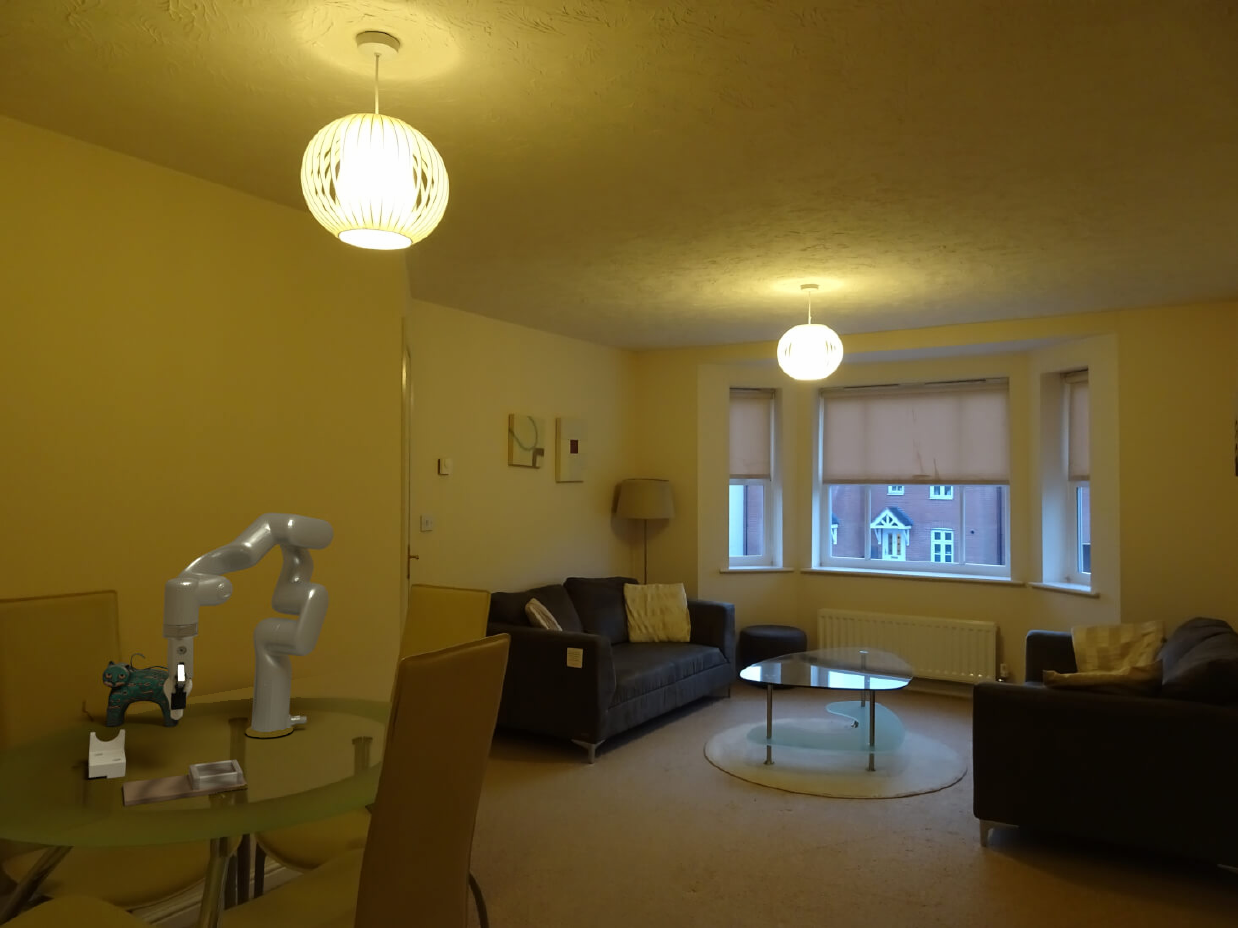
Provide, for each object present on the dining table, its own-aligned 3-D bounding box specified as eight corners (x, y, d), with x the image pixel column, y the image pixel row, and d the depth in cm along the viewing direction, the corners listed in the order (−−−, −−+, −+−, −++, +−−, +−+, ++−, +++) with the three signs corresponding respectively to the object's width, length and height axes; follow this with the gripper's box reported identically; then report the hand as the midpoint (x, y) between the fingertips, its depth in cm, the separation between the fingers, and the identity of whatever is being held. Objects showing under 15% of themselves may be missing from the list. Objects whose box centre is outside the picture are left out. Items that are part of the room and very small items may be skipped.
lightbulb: (178, 724, 196) (180, 677, 196) (155, 722, 197) (158, 675, 197) (196, 717, 202) (198, 671, 202) (174, 715, 203) (176, 669, 203)
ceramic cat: (97, 728, 227) (102, 654, 227) (108, 721, 233) (113, 649, 234) (175, 728, 230) (180, 656, 230) (183, 722, 236) (188, 651, 237)
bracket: (88, 764, 200) (90, 732, 200) (122, 760, 204) (124, 729, 204) (88, 781, 189) (91, 748, 189) (124, 777, 193) (127, 744, 193)
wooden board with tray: (239, 772, 199) (240, 757, 199) (247, 789, 189) (248, 773, 189) (122, 787, 186) (124, 771, 186) (124, 805, 176) (126, 789, 176)
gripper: (202, 635, 194) (198, 713, 194) (194, 622, 209) (190, 694, 209) (165, 638, 190) (161, 717, 190) (160, 624, 205) (156, 698, 205)
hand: (177, 704), depth 199 cm, fingers closed on lightbulb, 5 cm apart
